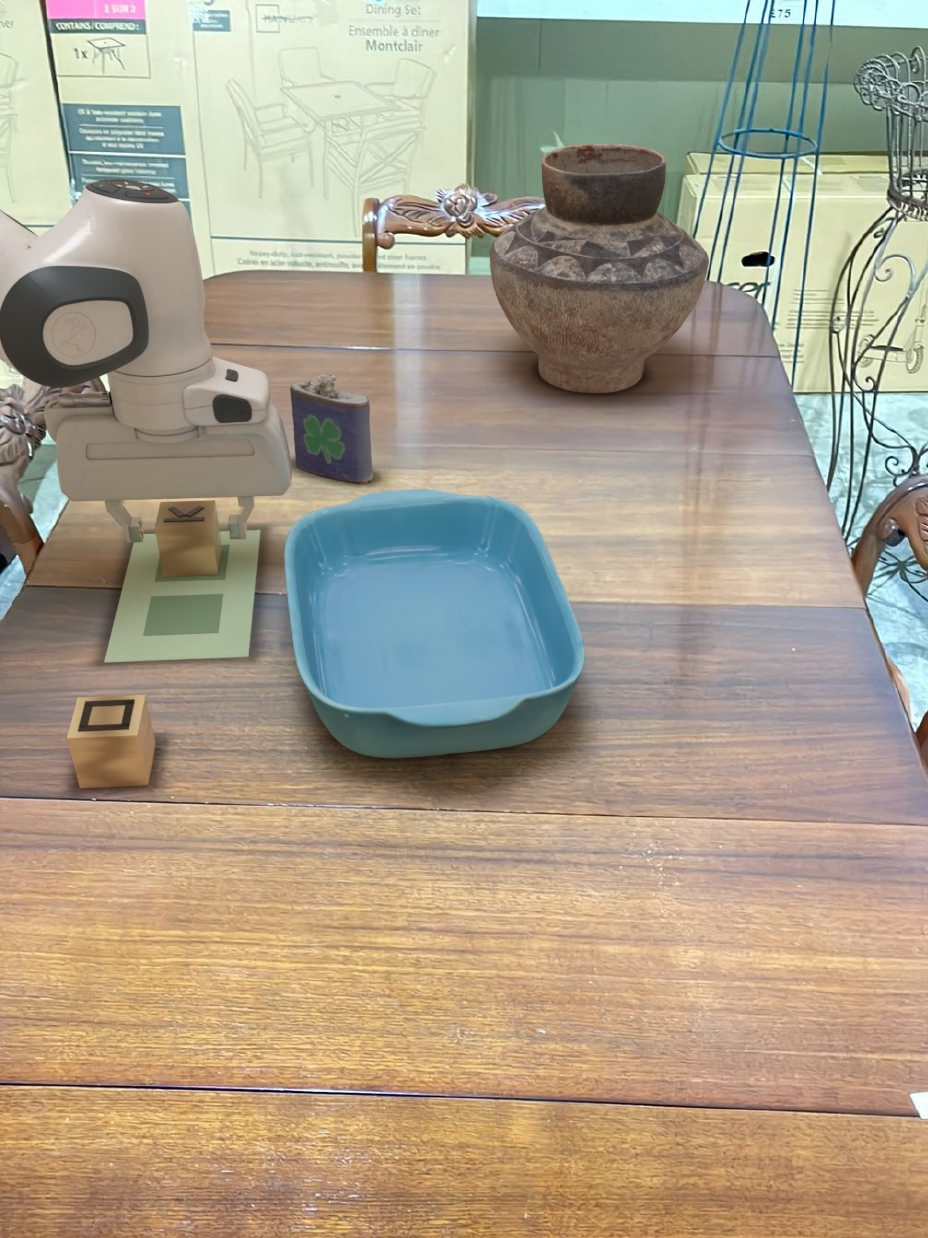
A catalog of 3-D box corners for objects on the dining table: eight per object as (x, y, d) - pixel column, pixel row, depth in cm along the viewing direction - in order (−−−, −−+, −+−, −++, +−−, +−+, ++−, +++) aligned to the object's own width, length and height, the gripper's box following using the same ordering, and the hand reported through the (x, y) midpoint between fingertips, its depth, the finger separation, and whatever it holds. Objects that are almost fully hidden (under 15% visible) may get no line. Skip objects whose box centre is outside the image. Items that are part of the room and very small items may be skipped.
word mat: (104, 666, 105) (103, 661, 104) (136, 537, 121) (135, 533, 121) (249, 660, 105) (248, 655, 105) (261, 533, 122) (260, 529, 122)
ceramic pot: (445, 377, 151) (443, 159, 135) (570, 321, 165) (582, 118, 149) (613, 436, 139) (633, 204, 123) (733, 371, 153) (765, 155, 137)
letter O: (80, 791, 92) (66, 736, 89) (90, 750, 96) (77, 696, 93) (149, 788, 93) (137, 733, 89) (156, 747, 96) (145, 693, 93)
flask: (378, 480, 130) (372, 378, 123) (362, 491, 129) (356, 389, 121) (304, 460, 134) (295, 361, 127) (288, 471, 132) (278, 370, 125)
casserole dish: (283, 560, 118) (276, 490, 113) (516, 543, 121) (518, 473, 116) (309, 813, 91) (300, 735, 86) (608, 783, 93) (616, 706, 89)
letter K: (163, 577, 115) (154, 526, 111) (168, 550, 118) (160, 500, 115) (218, 575, 115) (210, 524, 112) (222, 548, 119) (215, 498, 115)
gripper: (32, 408, 103) (66, 558, 112) (282, 402, 104) (296, 551, 113) (45, 378, 108) (77, 525, 117) (284, 373, 109) (297, 518, 118)
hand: (187, 538), depth 115 cm, fingers open, 8 cm apart
